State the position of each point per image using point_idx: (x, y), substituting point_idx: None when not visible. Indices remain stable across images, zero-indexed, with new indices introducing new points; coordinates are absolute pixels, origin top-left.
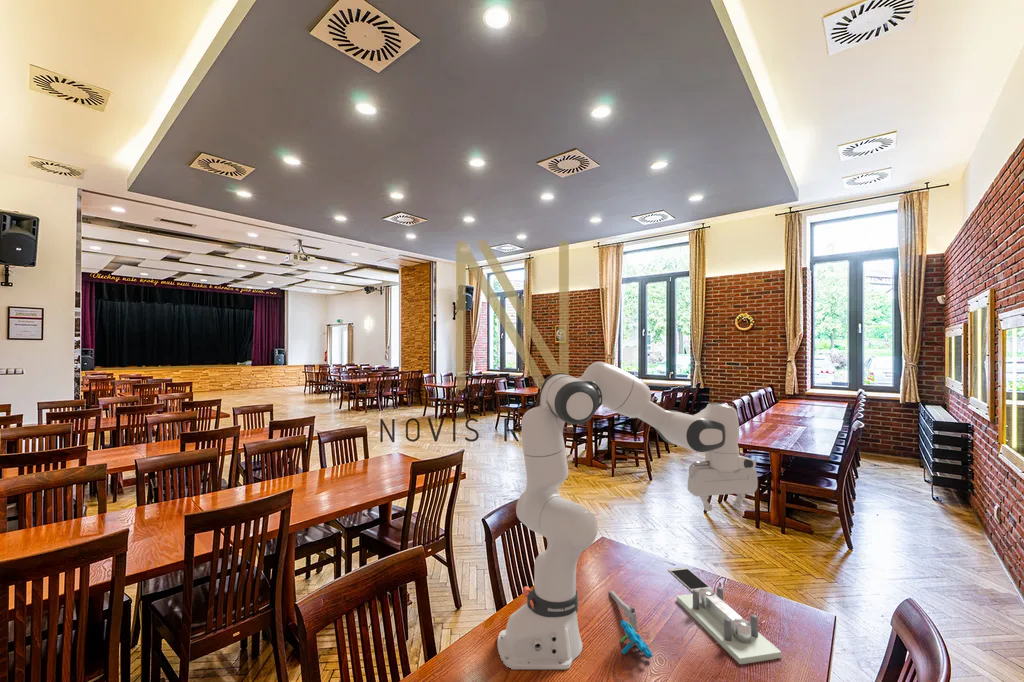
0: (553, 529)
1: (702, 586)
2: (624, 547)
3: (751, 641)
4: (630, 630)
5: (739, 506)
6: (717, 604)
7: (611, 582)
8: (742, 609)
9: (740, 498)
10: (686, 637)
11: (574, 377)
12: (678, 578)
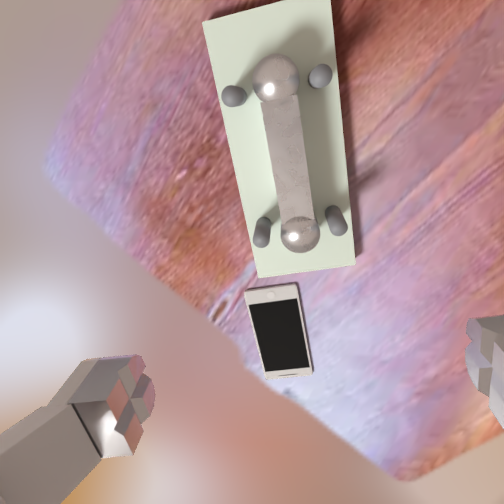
0: None
1: (263, 306)
2: (372, 458)
3: None
4: None
5: (98, 369)
6: (300, 175)
7: None
8: (208, 221)
9: (24, 461)
10: (409, 109)
11: None
12: (305, 339)
